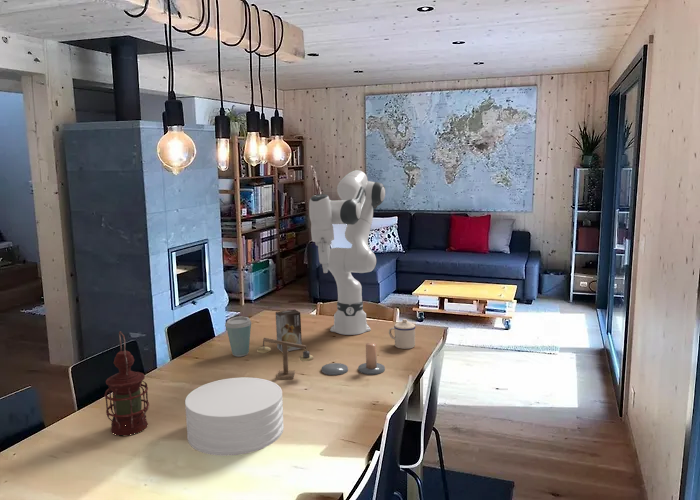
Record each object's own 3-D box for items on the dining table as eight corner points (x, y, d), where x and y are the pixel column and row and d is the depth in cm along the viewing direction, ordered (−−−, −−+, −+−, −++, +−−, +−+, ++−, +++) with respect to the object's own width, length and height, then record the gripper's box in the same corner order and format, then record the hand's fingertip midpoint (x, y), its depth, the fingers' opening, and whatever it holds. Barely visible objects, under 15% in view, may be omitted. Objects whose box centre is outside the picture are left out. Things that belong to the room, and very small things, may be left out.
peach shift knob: (366, 365, 219) (365, 342, 217) (376, 365, 219) (376, 342, 217) (366, 369, 215) (365, 346, 213) (376, 368, 215) (376, 345, 213)
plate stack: (203, 411, 184) (201, 377, 182) (289, 411, 183) (288, 377, 181) (173, 456, 156) (171, 416, 154) (275, 456, 155) (273, 416, 153)
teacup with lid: (418, 344, 245) (418, 318, 243) (410, 350, 237) (410, 323, 236) (393, 340, 251) (393, 314, 249) (384, 346, 243) (384, 319, 242)
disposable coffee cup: (244, 359, 230) (242, 323, 227) (221, 356, 234) (219, 321, 231) (257, 351, 239) (256, 317, 237) (235, 348, 243) (234, 314, 241)
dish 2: (358, 365, 222) (358, 362, 221) (383, 364, 222) (383, 362, 221) (358, 374, 212) (358, 372, 212) (385, 374, 212) (385, 371, 212)
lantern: (155, 430, 171) (147, 334, 166) (111, 441, 164) (102, 341, 159) (145, 415, 181) (138, 324, 176) (104, 425, 174) (96, 331, 170)
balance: (259, 373, 215) (257, 335, 212) (314, 372, 215) (313, 334, 212) (257, 379, 209) (255, 340, 207) (313, 378, 209) (312, 339, 207)
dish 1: (322, 365, 222) (322, 363, 222) (347, 365, 222) (347, 362, 221) (320, 375, 212) (320, 372, 212) (347, 375, 212) (347, 372, 212)
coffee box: (296, 344, 247) (295, 308, 245) (302, 349, 242) (301, 312, 239) (276, 348, 243) (275, 311, 241) (282, 352, 238) (280, 315, 235)
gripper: (330, 239, 215) (333, 275, 218) (331, 231, 235) (334, 263, 238) (313, 241, 215) (317, 276, 218) (315, 232, 235) (319, 265, 238)
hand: (326, 269), depth 228 cm, fingers open, 8 cm apart
